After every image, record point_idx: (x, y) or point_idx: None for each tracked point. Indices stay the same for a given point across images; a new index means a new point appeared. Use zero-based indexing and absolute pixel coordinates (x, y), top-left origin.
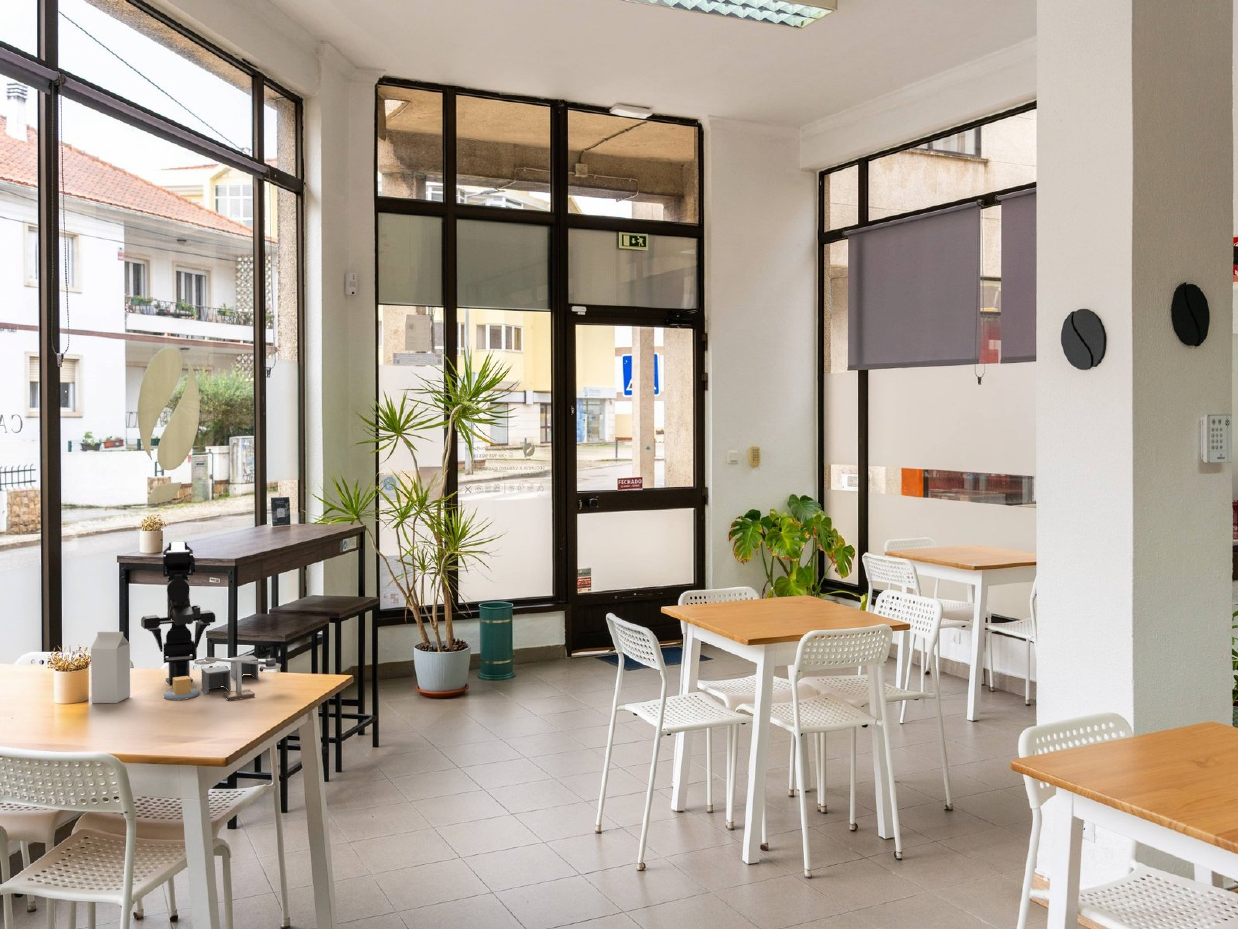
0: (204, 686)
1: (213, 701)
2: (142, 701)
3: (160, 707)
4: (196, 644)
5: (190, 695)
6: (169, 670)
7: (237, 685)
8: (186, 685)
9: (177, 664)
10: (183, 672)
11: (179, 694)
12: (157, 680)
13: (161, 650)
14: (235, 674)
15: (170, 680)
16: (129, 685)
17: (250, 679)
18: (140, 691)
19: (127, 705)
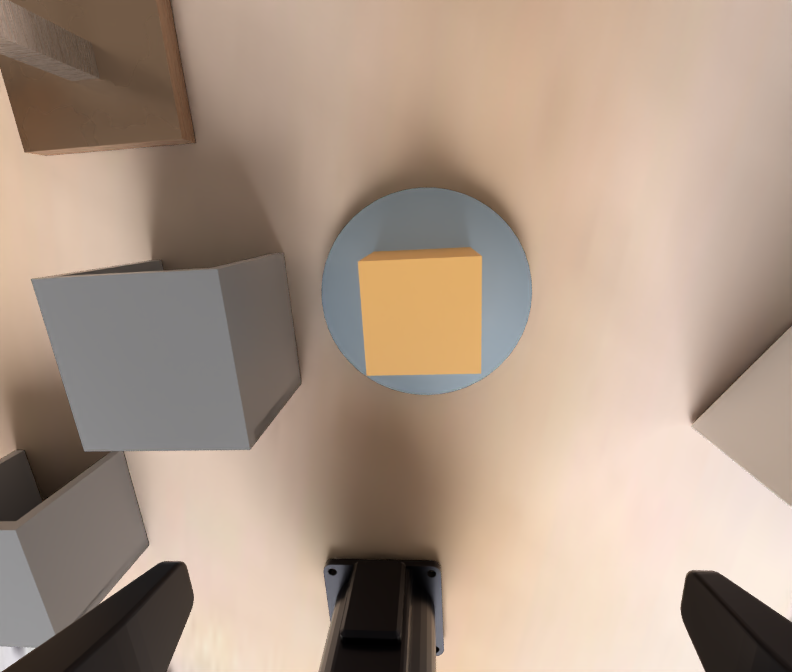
0: (280, 327)
1: (261, 22)
2: (659, 280)
3: (608, 36)
4: (135, 598)
5: (384, 198)
6: (434, 663)
7: (32, 13)
8: (397, 254)
9: (392, 668)
10: (364, 604)
11: (446, 242)
12: (475, 665)
13: (723, 586)
14: (97, 485)
15: (430, 602)
16: (746, 457)
17: (54, 461)
18: (602, 512)
19: (772, 223)
